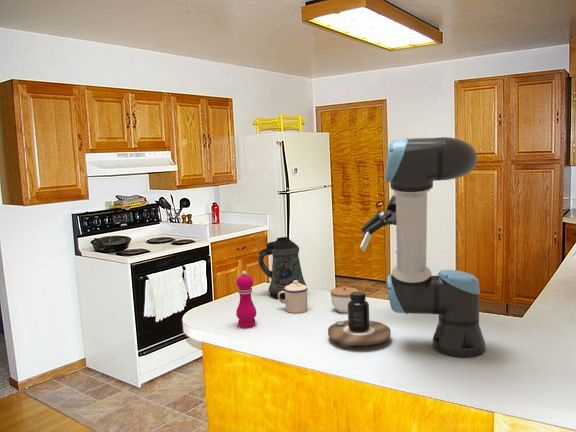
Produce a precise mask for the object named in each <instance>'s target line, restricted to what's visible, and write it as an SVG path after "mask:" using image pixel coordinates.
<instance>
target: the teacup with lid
mask: <svg viewBox="0 0 576 432" xmlns="http://www.w3.org/2000/svg"><path fill="white" fill-rule="evenodd" d="M284 290H285V291H281V292H279V293H278V299H279V300H278V299H277V300H278V301H279V302H280V303H281V304H283V305H284V304H285V311H286V312H288V313H290V314H302V313H304V312H306V311H308V309H309V306H308V286H307V284H306V285H302V284H301V283H298V281H297V280H295V281H293V283H291V284H290V285H287V286H286V287H285V289H284ZM281 293H285V300H281V298H280V294H281Z"/></svg>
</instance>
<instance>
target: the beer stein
mask: <svg viewBox="0 0 576 432" xmlns="http://www.w3.org/2000/svg"><path fill="white" fill-rule="evenodd" d="M265 247H266V248H263V249H262V250H260V251H259V253H258V257H257V261H258V266H259V268H260V269H261V270H262V272H263V273H264V274H265V275H266V277H269V278H270V279H271V280H270V284H269V287H268V292H269V295H270V298H272V299H275V300H278V301H279V299H278V293H279V292H281V291H285V290H284V289H285V287H286V286H287V285H290V284H291V283H293V281H295V280H297V281H298V283H301V284H302V285H306V286H307V284H306V281H305V279H304V276H303V272H302V268H301V261H300V257H299V252H300V247H299V245H297V244H296V243H295V242H294V241H292V240H291V238H290V237H287V236H282V237H277V238H276V240H275V241H271V242H268V243H267V244H266V245H265ZM271 255H272V263H271V266H272V268H271V270H270V269H269V268H268V267H267V265H266V263H265V262H264V258H265V257H266V256H271ZM280 298H281V300H282V301H285V293H281V294H280Z"/></svg>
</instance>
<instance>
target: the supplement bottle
mask: <svg viewBox="0 0 576 432" xmlns="http://www.w3.org/2000/svg"><path fill="white" fill-rule="evenodd" d="M350 299H351V301H350V302H349V303H348V313H347V320H348V327H349V330H350V331H352V332H357V333H361V332H366V331H368V330H369V328H370V323H369V320H370V304H369V302H368V301H367V300H366V292H364V291H359V292H352V293H351V294H350Z"/></svg>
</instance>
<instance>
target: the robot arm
mask: <svg viewBox="0 0 576 432" xmlns="http://www.w3.org/2000/svg"><path fill="white" fill-rule="evenodd" d="M476 151H477V150H476V149H475V148H474V147H473V145H471V144H470V143H469V142H467V141H464V140H462V139H458V138H454V137H447V136H445V137H420V138H419V137H418V138H417V137H415V138H413V137H412V138H409V137H408V138H402V139H401V138H400V139H394V140H392V141H391V142H389V145H388V152H387V160H386V169H385V179H384V180H385V182H386V183H389V184H390V185H389V186H390V189H391V191H393V192H392V194H391V197H390V200H389V201H388V202H387V203H388V204H387V206H386V210H385V211H383V212H382V211H381V210H377V211H376V213H375V214H374V216H372V217H371V218H370V219H369V220H368V221H367V222H366V223H365V224H364V225H363V226H362V227H361V231H362V233H363V236H362V237H361V244H360V245H359V248H360V249H361V250H362V251H363V252H366V250H367V247H368V245H369V244H370V241H371V238H372V237H373V236H372V234H374V233H375V232H377V231H378V230H379V229H381V228H383V227H386V226H388V225H390V226H391V225H393V226H396V227H395V228H396V230H395V231H396V247H395V249H394V251H395V253H396V265H395V267H393V268H392V270H391V274H388V275H387V278H386V281H387V283H386V284H387V293H388V301H389V305H390V309H391V310H392V311H393V312H394V313H396V314H397V313H398V314H404V315H408V314H413V315H414V314H415V315H416V314H418V315H419V314H420V315H438V323H437V325H436V328H435V331H434V334H433V337H432V348H433V349H434V351H437V352H439V353H440V354H443V355H446V356H450V357H458V358H473V357H474V358H475V357H478V356H481V355H482V354H484V353H485V352H486V341H485V338H484V335H483V333H482V329H481V326H480V294H481V291H480V281H479V279H478V277H476V276H475V275H474V274H471V273H470V272H469V273H468V272H465V271H461V270H456V269H441V270H439V271H438V273H437V275H432V270H431V269H430V268H429V267H428V266H427V243H428V242H427V239H428V238H427V233H428V231H427V230H428V222H427V221H428V217H427V216H428V192H430V191H431V190H432V189H433V187H434V181H450V180H454V179H458V178H462V177H464V176H467V175H469V174H470V173H471V172H473V170H474V169H475V168H476V165H477V163H478V154H477V152H476Z"/></svg>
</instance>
